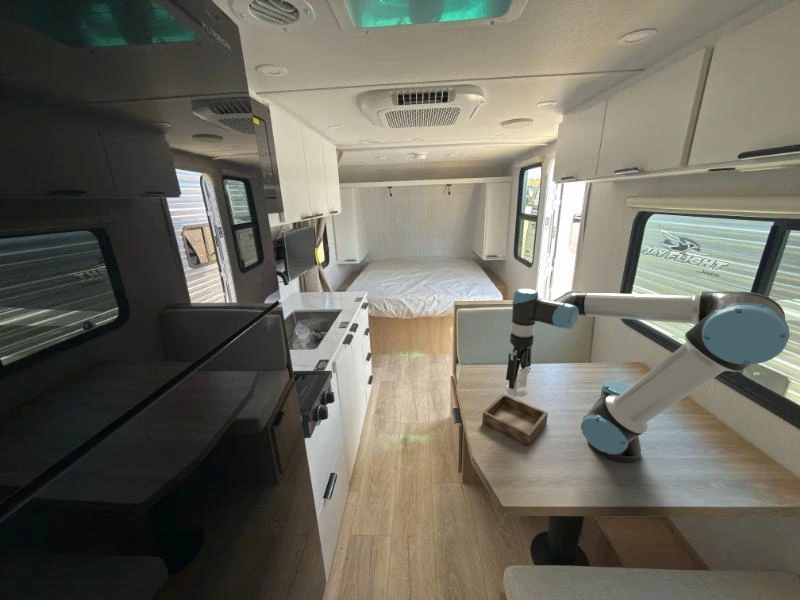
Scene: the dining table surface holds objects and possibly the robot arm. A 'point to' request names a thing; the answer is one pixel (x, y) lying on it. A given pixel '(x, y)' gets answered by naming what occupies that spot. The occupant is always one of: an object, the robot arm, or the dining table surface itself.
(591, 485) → the dining table surface
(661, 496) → the dining table surface
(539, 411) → the wooden tray
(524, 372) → the hook
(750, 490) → the dining table surface
